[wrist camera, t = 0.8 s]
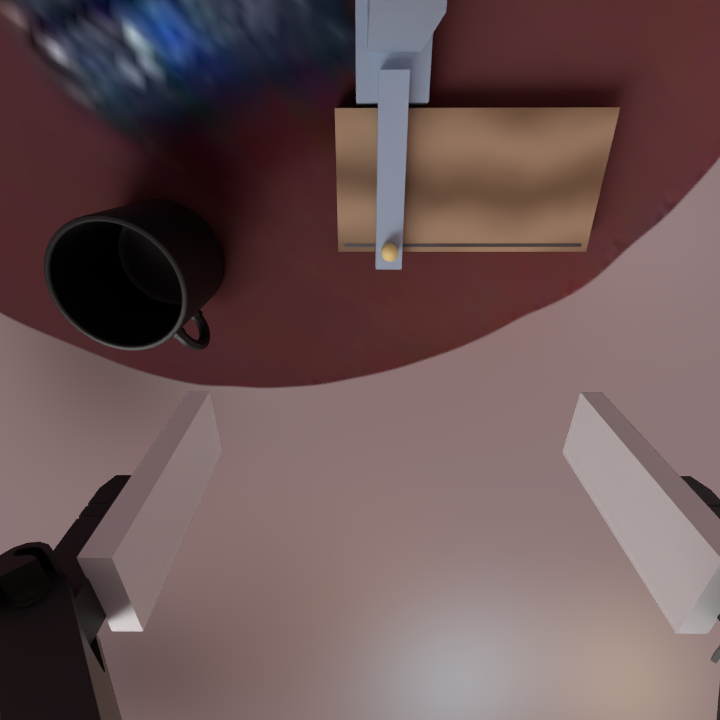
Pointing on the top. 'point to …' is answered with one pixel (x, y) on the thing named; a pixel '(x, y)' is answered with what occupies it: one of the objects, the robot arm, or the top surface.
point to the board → (479, 178)
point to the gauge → (393, 99)
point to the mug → (135, 274)
